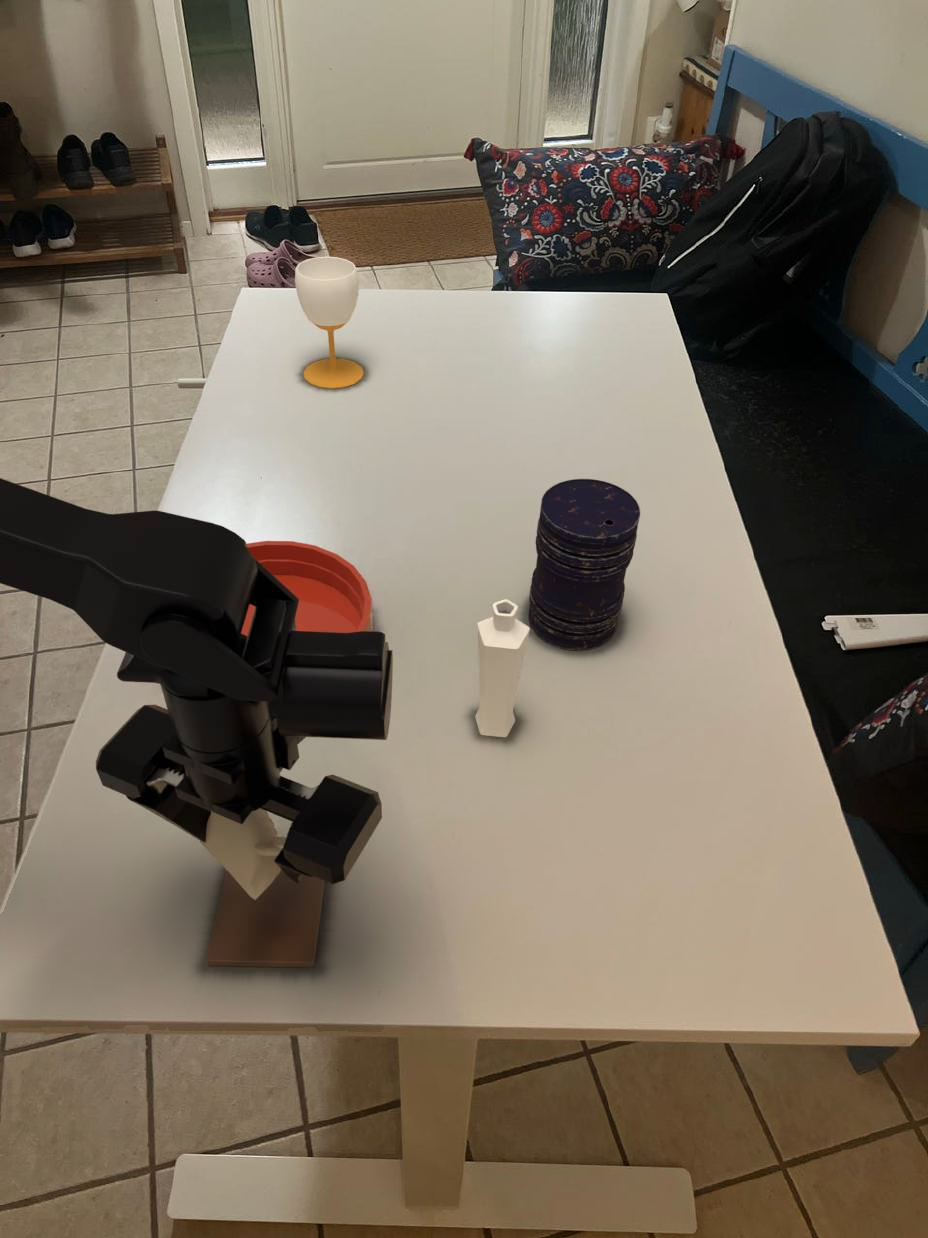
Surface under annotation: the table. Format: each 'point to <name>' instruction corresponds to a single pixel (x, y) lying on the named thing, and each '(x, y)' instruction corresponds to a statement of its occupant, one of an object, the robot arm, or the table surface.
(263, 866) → the decorative ornament
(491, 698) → the perfume bottle
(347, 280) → the cup
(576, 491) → the dark oil barrel
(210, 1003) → the table surface
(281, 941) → the coaster
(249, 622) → the bowl
